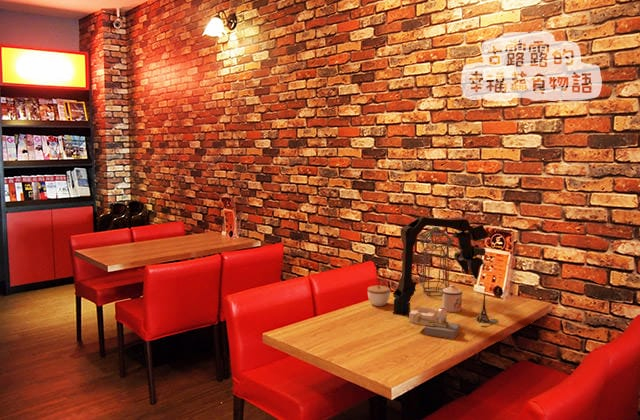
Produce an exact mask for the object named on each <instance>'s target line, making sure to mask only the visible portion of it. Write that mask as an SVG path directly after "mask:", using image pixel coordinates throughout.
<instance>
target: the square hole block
mask: <svg viewBox="0 0 640 420" xmlns="http://www.w3.org/2000/svg"><path fill="white" fill-rule="evenodd" d="M416 313H422V318H429V319H436V320H438V314H439V309H435V308H428V307H419V306H415V307H414V308H413V309H412V310H410V312H409V313H408V314H409V316H408V318H409V319H408V321H409V322H408V323H412V324H413V316H414V315H415V314H416ZM421 322H428V321H421ZM428 323H429V322H428Z"/></svg>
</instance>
